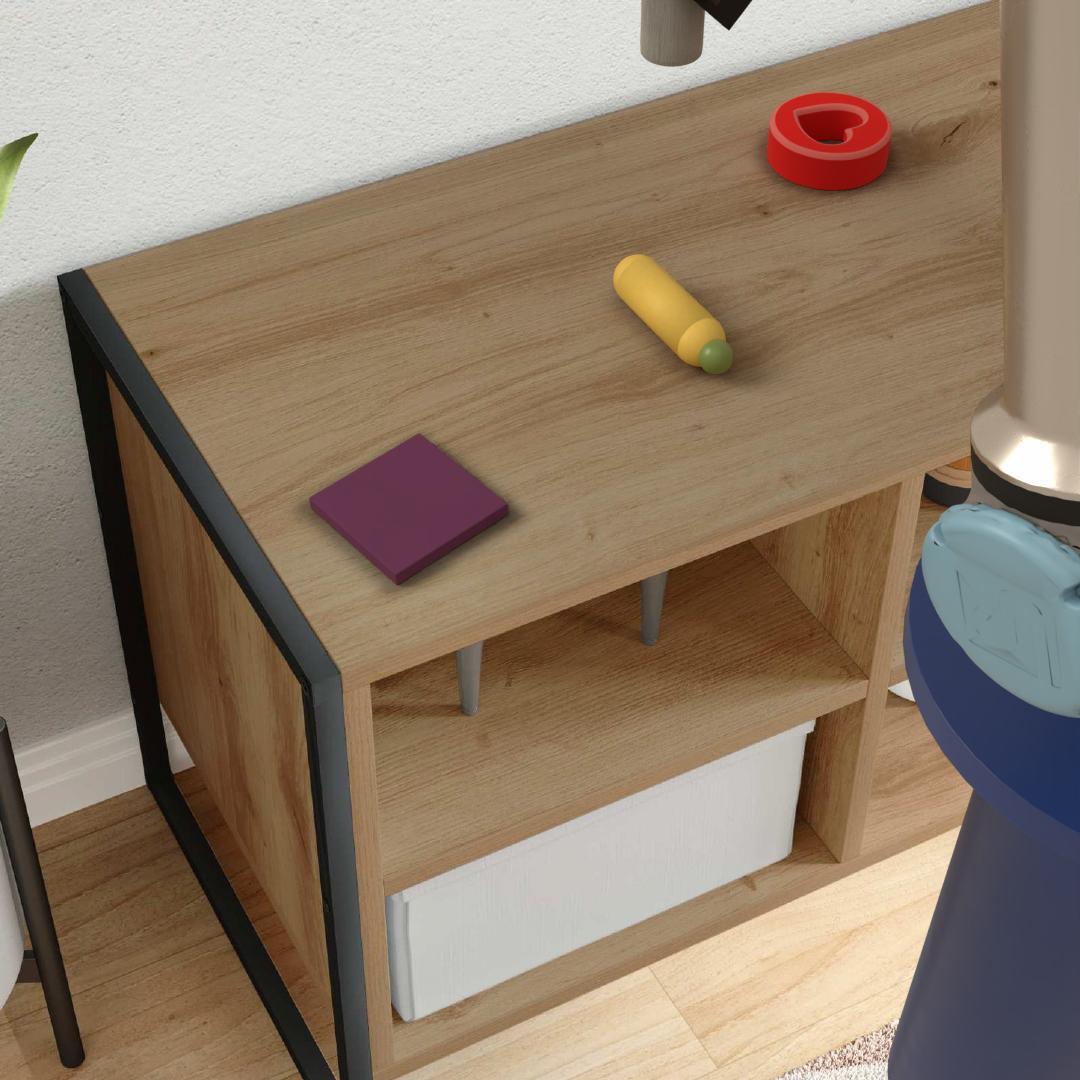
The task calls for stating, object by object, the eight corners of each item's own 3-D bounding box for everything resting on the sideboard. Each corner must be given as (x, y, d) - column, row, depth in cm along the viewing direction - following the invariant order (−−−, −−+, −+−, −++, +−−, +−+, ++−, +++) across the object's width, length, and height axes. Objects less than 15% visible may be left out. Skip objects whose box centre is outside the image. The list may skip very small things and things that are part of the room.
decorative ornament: (771, 119, 131) (775, 85, 129) (889, 129, 130) (894, 95, 127) (761, 184, 125) (764, 149, 122) (884, 195, 123) (890, 160, 121)
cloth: (508, 514, 100) (508, 503, 99) (396, 585, 96) (395, 574, 95) (420, 443, 105) (419, 432, 104) (310, 508, 101) (308, 497, 100)
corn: (745, 377, 109) (749, 337, 106) (702, 395, 108) (705, 354, 105) (645, 278, 117) (646, 238, 114) (603, 294, 115) (604, 253, 113)
